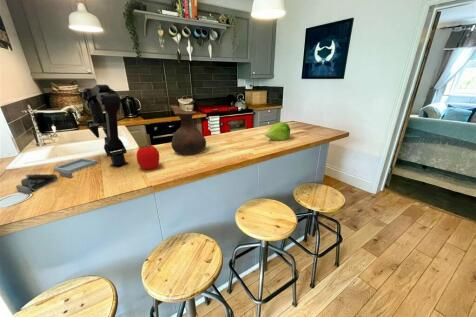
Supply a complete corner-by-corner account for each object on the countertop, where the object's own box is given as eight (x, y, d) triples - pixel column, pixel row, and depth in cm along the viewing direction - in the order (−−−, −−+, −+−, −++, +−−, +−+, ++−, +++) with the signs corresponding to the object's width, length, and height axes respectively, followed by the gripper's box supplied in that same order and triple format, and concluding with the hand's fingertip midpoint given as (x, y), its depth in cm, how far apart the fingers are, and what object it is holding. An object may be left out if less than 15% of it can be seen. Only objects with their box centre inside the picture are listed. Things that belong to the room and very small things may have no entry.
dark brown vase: (203, 146, 145) (200, 104, 135) (209, 156, 126) (206, 107, 116) (172, 150, 139) (166, 105, 128) (173, 160, 120) (166, 109, 109)
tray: (97, 164, 115) (96, 160, 115) (69, 174, 102) (68, 170, 101) (83, 161, 119) (82, 158, 118) (54, 171, 106) (53, 167, 105)
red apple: (151, 174, 102) (147, 149, 97) (133, 171, 106) (128, 147, 101) (166, 165, 112) (163, 143, 108) (149, 163, 116) (145, 141, 112)
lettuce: (258, 142, 156) (259, 122, 150) (282, 138, 164) (284, 119, 159) (269, 147, 143) (270, 125, 138) (294, 143, 152) (296, 123, 147)
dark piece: (48, 179, 98) (16, 171, 87) (59, 175, 96) (28, 166, 86) (43, 198, 93) (9, 192, 83) (54, 194, 92) (21, 188, 82)
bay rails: (73, 178, 98) (71, 172, 97) (29, 195, 84) (26, 189, 83) (62, 175, 101) (60, 170, 100) (18, 192, 86) (15, 185, 85)
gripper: (121, 110, 117) (127, 136, 123) (99, 109, 124) (105, 134, 129) (103, 112, 108) (110, 141, 113) (80, 111, 114) (87, 138, 119)
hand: (103, 138), depth 119 cm, fingers open, 9 cm apart
